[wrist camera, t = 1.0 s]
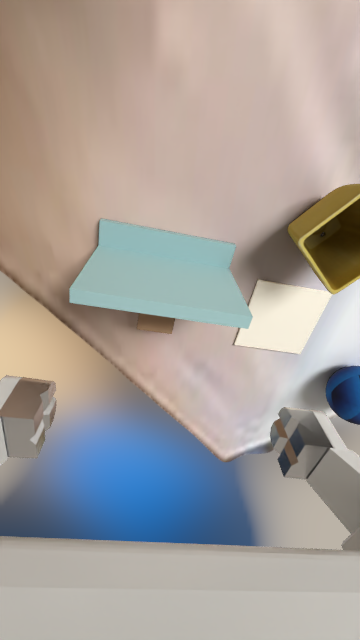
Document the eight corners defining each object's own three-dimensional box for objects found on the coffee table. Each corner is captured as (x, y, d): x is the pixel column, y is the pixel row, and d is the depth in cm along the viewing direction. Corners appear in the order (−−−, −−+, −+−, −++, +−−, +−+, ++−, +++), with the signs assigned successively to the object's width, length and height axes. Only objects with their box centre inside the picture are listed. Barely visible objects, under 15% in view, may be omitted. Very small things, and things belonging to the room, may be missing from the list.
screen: (101, 218, 36) (69, 255, 24) (234, 243, 39) (264, 288, 27) (99, 253, 39) (69, 302, 27) (225, 275, 41) (248, 329, 29)
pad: (257, 279, 42) (258, 280, 41) (331, 292, 43) (332, 293, 43) (234, 343, 48) (234, 344, 48) (299, 352, 50) (300, 354, 49)
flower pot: (270, 221, 37) (296, 242, 30) (331, 172, 34) (377, 181, 27) (302, 268, 41) (332, 296, 33) (359, 226, 38) (407, 248, 31)
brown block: (143, 282, 41) (140, 298, 37) (177, 287, 42) (178, 304, 38) (139, 312, 44) (136, 330, 40) (171, 316, 45) (171, 335, 41)
